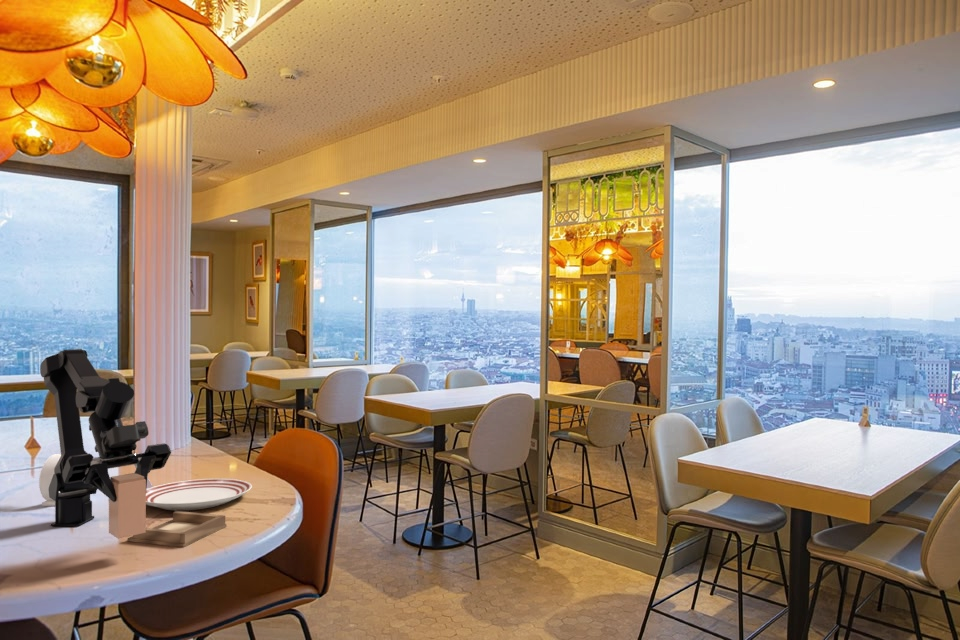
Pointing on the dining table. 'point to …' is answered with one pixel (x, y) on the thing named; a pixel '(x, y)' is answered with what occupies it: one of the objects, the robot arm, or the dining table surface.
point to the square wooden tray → (182, 529)
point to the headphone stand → (48, 478)
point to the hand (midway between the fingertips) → (130, 497)
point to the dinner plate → (195, 493)
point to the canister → (128, 506)
